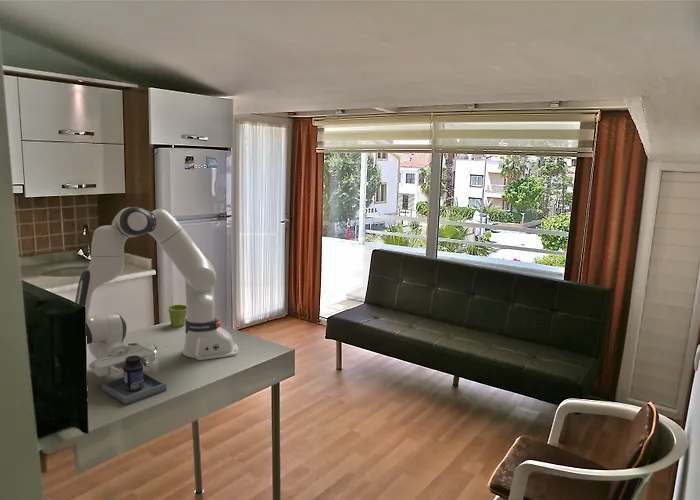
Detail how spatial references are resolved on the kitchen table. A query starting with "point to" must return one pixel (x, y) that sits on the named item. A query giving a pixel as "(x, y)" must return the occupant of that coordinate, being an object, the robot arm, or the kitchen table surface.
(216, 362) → the kitchen table surface
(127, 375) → the pill bottle
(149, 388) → the tray
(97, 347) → the robot arm
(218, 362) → the kitchen table surface
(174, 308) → the object
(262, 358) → the kitchen table surface
